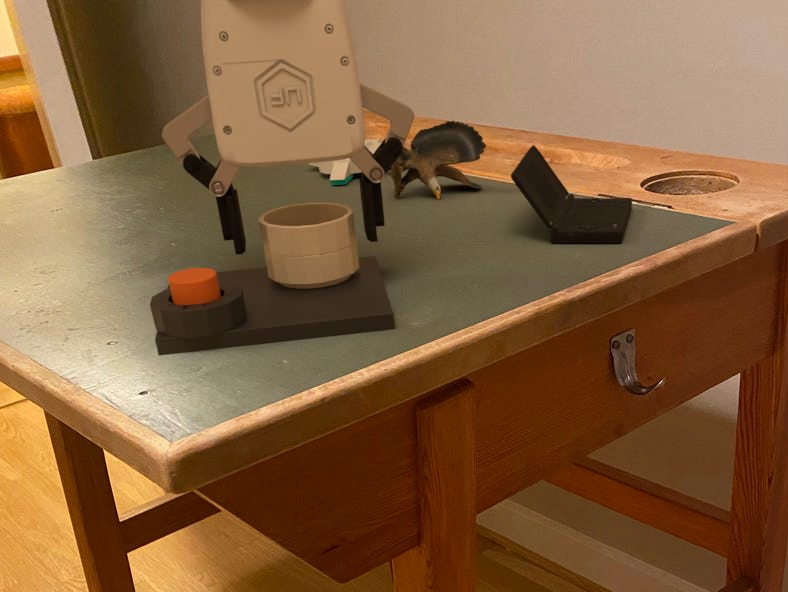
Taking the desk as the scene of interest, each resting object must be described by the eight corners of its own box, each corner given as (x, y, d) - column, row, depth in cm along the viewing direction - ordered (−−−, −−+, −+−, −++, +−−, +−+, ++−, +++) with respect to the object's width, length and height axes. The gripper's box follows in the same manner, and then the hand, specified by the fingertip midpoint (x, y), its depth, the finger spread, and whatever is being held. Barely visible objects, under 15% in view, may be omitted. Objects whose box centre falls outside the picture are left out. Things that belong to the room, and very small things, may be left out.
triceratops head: (409, 198, 95) (496, 166, 96) (379, 123, 94) (467, 92, 95) (401, 226, 102) (482, 197, 103) (373, 157, 101) (455, 128, 103)
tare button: (172, 311, 68) (165, 284, 66) (175, 296, 70) (169, 270, 69) (220, 305, 68) (215, 279, 67) (222, 291, 70) (216, 265, 69)
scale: (157, 359, 68) (146, 315, 66) (172, 292, 79) (163, 252, 78) (395, 333, 69) (391, 288, 68) (376, 270, 81) (372, 231, 79)
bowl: (269, 295, 74) (258, 231, 71) (269, 268, 79) (258, 207, 76) (363, 285, 74) (355, 221, 72) (356, 259, 80) (349, 198, 77)
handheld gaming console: (648, 220, 82) (572, 114, 79) (578, 279, 85) (501, 180, 82) (636, 205, 93) (568, 111, 89) (574, 259, 95) (505, 169, 92)
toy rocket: (330, 153, 118) (327, 132, 117) (412, 151, 117) (410, 129, 116) (290, 187, 106) (287, 163, 104) (381, 185, 104) (379, 161, 103)
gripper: (122, -21, 61) (185, 269, 71) (408, -39, 63) (428, 246, 73) (135, -28, 67) (190, 240, 77) (395, -45, 69) (416, 220, 79)
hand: (306, 243), depth 75 cm, fingers open, 9 cm apart
